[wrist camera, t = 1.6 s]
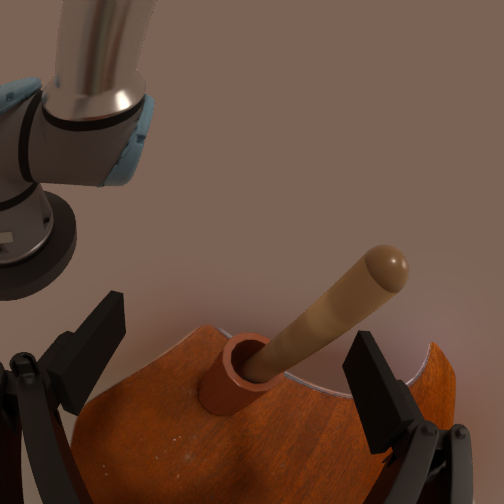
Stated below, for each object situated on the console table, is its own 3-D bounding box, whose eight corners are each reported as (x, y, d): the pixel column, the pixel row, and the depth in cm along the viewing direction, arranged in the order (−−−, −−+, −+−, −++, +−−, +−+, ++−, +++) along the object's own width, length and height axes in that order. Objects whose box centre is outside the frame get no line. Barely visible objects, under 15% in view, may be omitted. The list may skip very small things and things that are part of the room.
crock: (188, 398, 26) (209, 366, 20) (214, 363, 30) (242, 321, 24) (230, 425, 25) (268, 403, 19) (253, 388, 30) (293, 354, 23)
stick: (209, 393, 26) (379, 253, 10) (220, 377, 28) (383, 225, 12) (228, 405, 26) (419, 287, 10) (238, 389, 28) (418, 256, 12)
